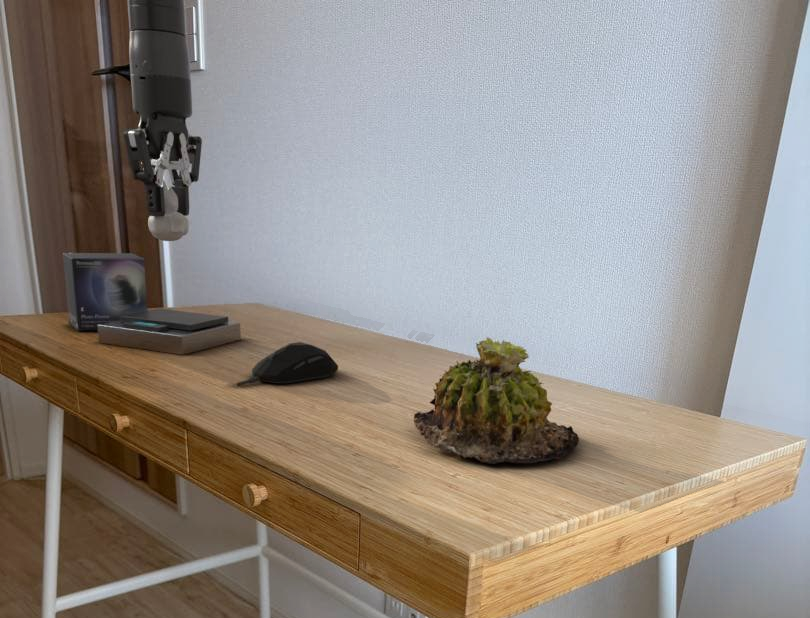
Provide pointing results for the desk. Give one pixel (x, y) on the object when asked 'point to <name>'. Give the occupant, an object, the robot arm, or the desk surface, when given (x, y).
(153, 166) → the robot arm
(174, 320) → the scale pan
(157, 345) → the scale
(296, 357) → the gaming mouse
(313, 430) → the desk surface
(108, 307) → the small box
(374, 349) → the desk surface
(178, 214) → the beige lumpy figurine
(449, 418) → the cactus
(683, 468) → the desk surface
